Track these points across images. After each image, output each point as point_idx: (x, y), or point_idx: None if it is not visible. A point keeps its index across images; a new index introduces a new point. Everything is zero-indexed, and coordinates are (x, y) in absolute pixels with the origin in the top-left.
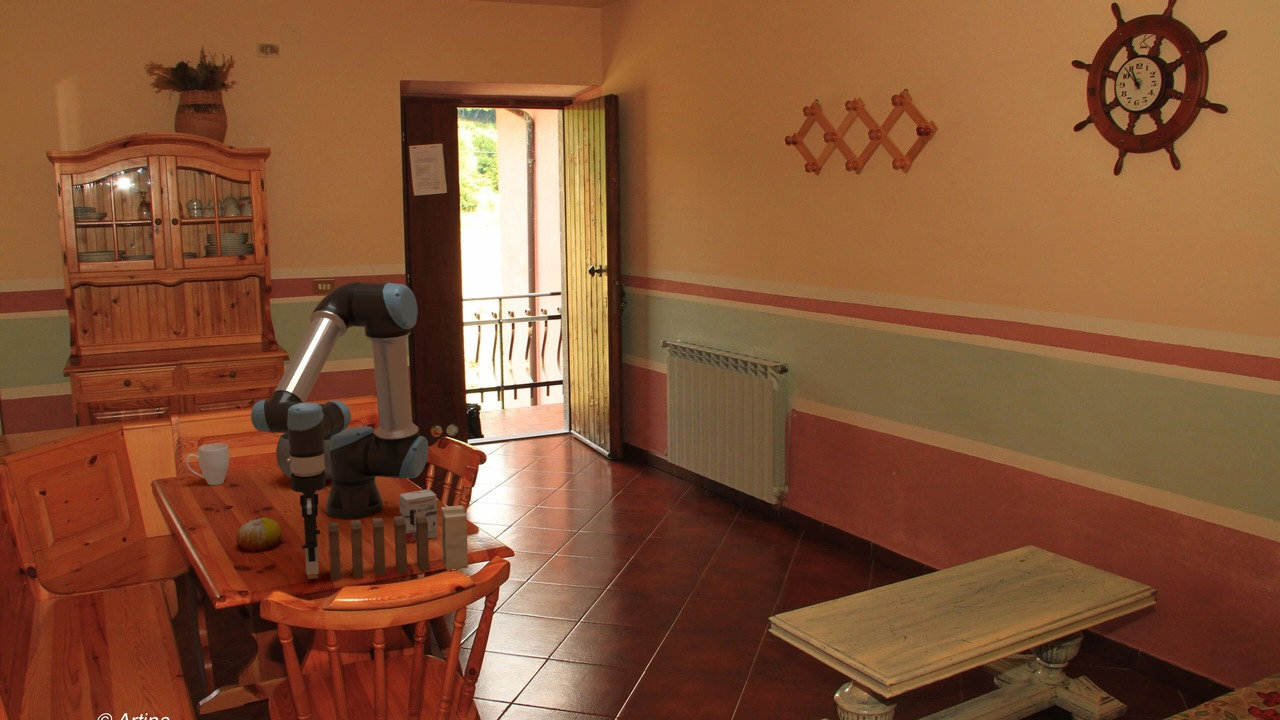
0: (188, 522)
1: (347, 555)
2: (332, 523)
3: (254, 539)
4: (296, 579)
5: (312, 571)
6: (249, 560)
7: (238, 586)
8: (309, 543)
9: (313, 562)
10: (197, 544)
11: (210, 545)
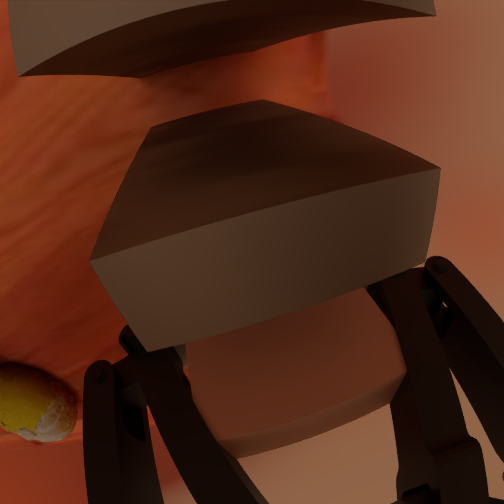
0: (25, 445)
1: (3, 160)
2: (169, 308)
3: (66, 414)
4: None
5: None
6: None
7: None
8: (442, 301)
9: None
10: (79, 439)
11: (74, 430)
